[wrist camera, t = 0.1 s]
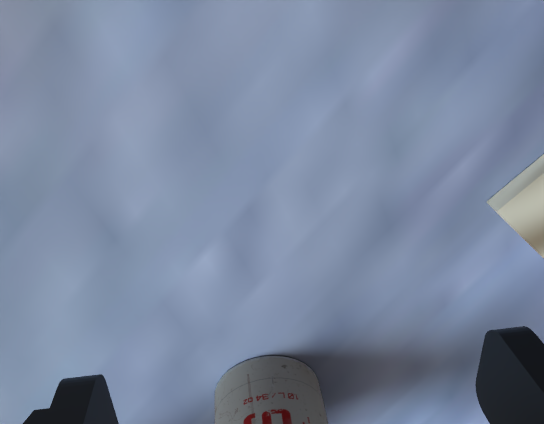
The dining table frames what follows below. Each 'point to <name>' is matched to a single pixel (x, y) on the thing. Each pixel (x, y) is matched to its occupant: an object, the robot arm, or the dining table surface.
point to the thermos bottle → (269, 393)
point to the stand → (524, 204)
